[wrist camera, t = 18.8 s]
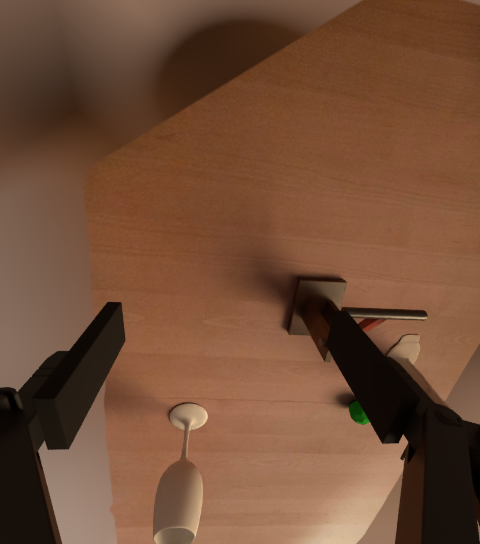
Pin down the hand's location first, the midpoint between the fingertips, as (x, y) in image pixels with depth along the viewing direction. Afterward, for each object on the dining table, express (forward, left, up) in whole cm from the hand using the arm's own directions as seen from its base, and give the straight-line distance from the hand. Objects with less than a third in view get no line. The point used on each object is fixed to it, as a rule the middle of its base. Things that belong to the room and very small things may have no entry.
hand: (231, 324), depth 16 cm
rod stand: (+17, +17, -29) cm, 37 cm away
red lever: (+12, +18, -15) cm, 26 cm away
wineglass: (+45, -10, -29) cm, 54 cm away
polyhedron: (+45, +30, -29) cm, 61 cm away
